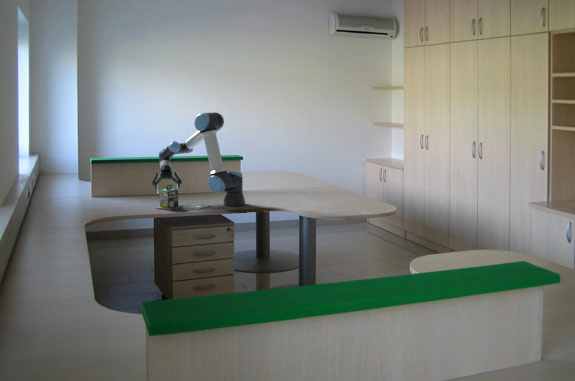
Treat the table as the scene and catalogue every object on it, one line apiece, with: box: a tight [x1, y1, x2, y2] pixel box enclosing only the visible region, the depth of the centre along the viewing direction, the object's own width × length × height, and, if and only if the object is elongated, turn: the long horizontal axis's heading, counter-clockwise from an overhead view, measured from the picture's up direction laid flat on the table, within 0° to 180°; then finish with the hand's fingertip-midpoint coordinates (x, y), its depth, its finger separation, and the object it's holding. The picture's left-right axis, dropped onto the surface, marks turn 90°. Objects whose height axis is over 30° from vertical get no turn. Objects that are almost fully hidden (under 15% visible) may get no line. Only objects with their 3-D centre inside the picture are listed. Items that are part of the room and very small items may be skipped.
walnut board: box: [155, 204, 184, 211], centre depth 429 cm, size 13×13×1 cm
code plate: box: [180, 203, 211, 210], centre depth 432 cm, size 14×14×1 cm
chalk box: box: [158, 184, 179, 208], centre depth 428 cm, size 9×9×15 cm
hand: (168, 192), depth 437 cm, fingers open, 13 cm apart
